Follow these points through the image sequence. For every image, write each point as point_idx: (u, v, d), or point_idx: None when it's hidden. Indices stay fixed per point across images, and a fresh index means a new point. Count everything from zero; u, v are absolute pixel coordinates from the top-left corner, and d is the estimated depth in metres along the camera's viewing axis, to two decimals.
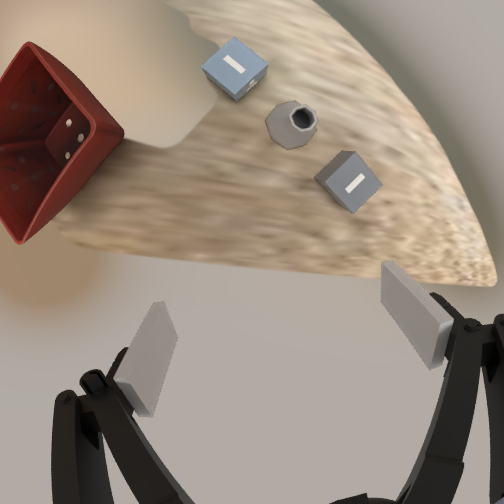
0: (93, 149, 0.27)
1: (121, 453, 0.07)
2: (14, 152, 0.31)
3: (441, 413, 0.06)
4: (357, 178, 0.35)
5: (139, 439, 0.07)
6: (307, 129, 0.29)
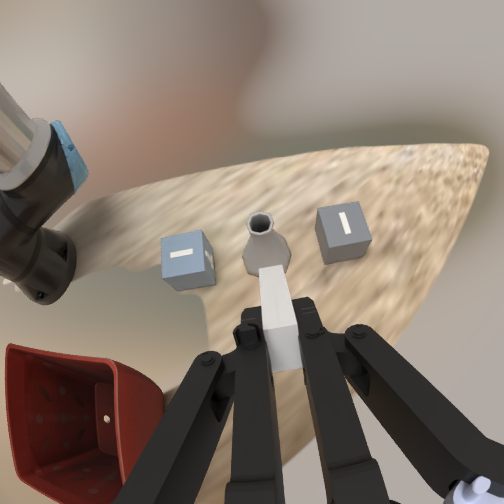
0: (133, 395, 0.24)
1: (243, 415, 0.08)
2: (73, 467, 0.25)
3: (321, 425, 0.07)
4: (342, 218, 0.37)
5: (269, 407, 0.08)
6: (271, 225, 0.33)
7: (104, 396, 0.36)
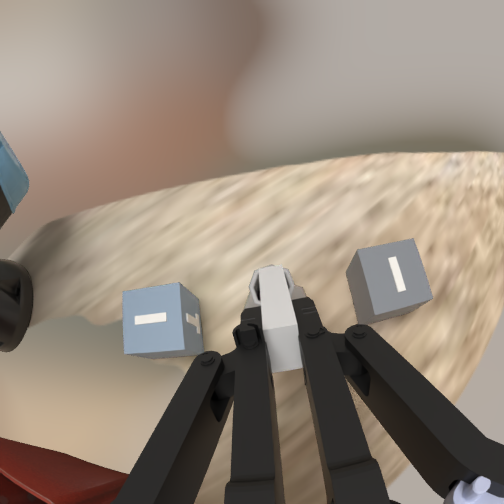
0: None
1: (243, 415, 0.08)
2: None
3: (321, 425, 0.07)
4: (392, 267, 0.23)
5: (269, 407, 0.08)
6: (290, 291, 0.19)
7: None
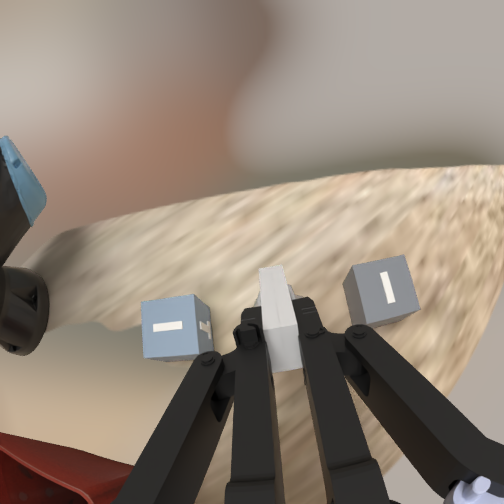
0: None
1: (243, 415, 0.08)
2: None
3: (321, 425, 0.07)
4: (383, 281, 0.26)
5: (269, 407, 0.08)
6: None
7: None
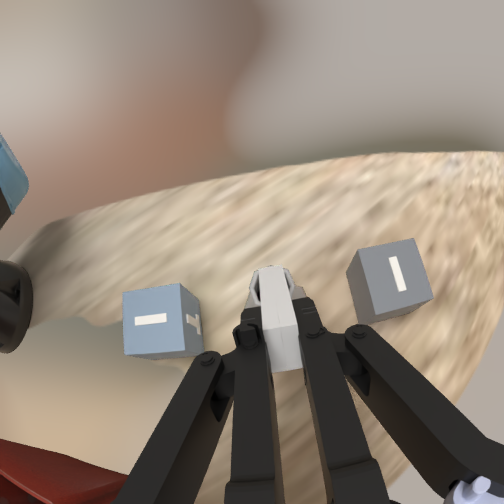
0: None
1: (243, 415, 0.08)
2: None
3: (321, 425, 0.07)
4: (393, 267, 0.23)
5: (269, 407, 0.08)
6: (291, 291, 0.19)
7: None
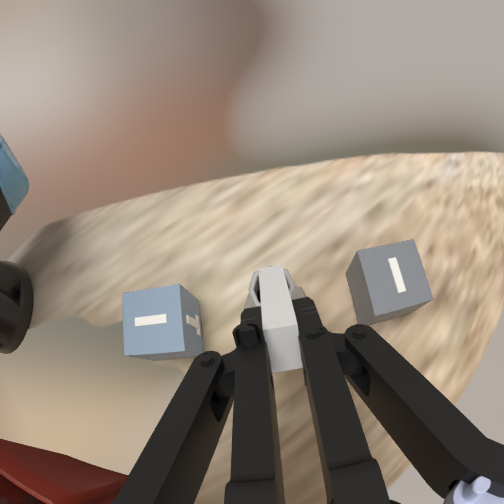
0: None
1: (243, 415, 0.08)
2: None
3: (321, 425, 0.07)
4: (392, 268, 0.23)
5: (269, 407, 0.08)
6: (291, 291, 0.19)
7: None
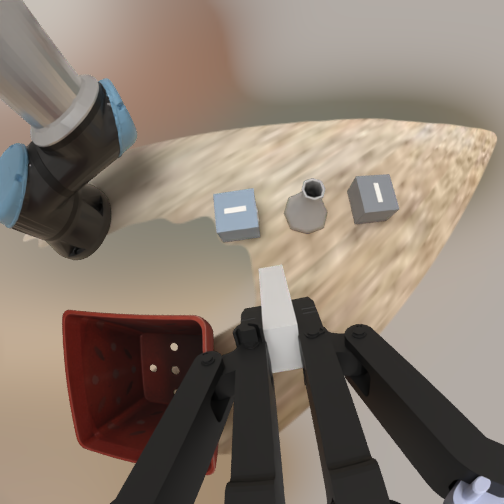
0: (210, 345, 0.31)
1: (243, 415, 0.08)
2: (126, 421, 0.35)
3: (321, 425, 0.07)
4: (375, 188, 0.40)
5: (269, 407, 0.08)
6: (323, 191, 0.37)
7: (150, 346, 0.44)
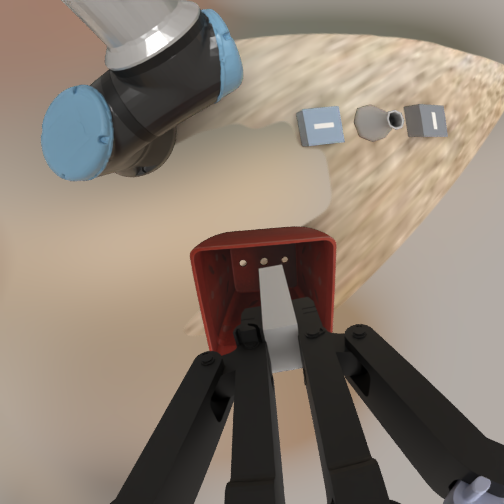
0: None
1: (243, 415, 0.08)
2: (232, 318, 0.52)
3: (321, 425, 0.07)
4: (433, 117, 0.39)
5: (269, 407, 0.08)
6: (402, 122, 0.37)
7: None
